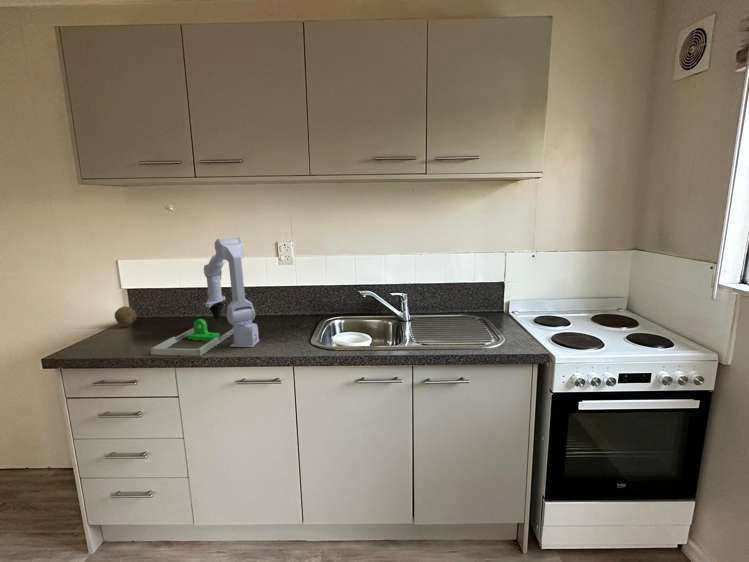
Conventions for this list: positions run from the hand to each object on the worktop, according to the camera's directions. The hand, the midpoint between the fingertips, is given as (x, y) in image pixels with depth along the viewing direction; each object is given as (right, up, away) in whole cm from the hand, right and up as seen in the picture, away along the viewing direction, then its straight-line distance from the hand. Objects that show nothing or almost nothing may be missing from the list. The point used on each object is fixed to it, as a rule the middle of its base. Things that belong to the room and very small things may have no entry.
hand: (217, 318), depth 186 cm
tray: (-3, -10, -25) cm, 27 cm away
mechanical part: (-1, -8, -11) cm, 14 cm away
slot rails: (-1, -7, -8) cm, 10 cm away
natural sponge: (-47, -5, +9) cm, 49 cm away
